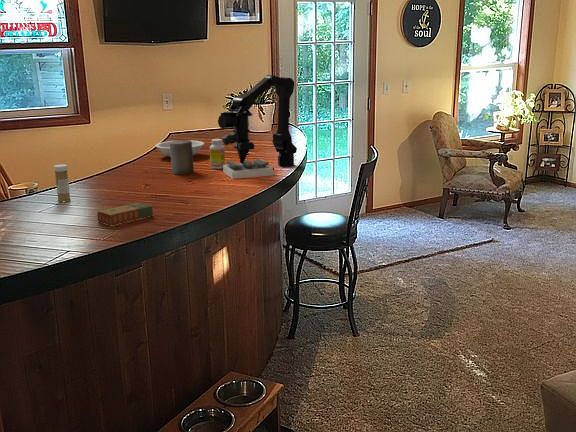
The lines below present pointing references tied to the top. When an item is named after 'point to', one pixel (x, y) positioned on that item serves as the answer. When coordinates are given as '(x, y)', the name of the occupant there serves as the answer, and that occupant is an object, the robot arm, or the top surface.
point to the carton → (124, 213)
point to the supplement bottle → (217, 154)
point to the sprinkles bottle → (62, 182)
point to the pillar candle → (181, 157)
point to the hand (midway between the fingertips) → (241, 163)
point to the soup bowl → (165, 147)
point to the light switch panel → (247, 171)
